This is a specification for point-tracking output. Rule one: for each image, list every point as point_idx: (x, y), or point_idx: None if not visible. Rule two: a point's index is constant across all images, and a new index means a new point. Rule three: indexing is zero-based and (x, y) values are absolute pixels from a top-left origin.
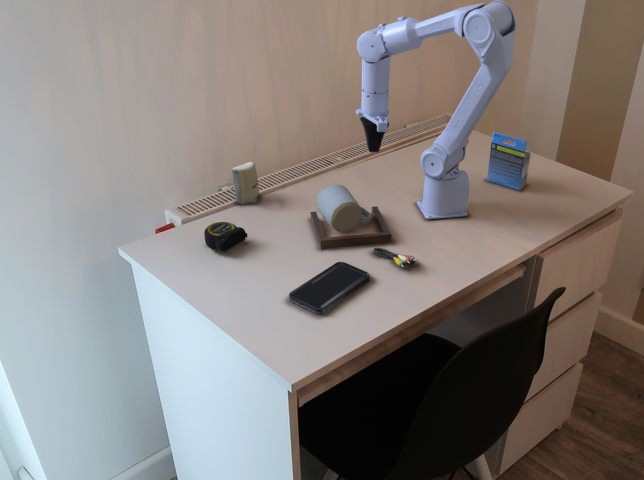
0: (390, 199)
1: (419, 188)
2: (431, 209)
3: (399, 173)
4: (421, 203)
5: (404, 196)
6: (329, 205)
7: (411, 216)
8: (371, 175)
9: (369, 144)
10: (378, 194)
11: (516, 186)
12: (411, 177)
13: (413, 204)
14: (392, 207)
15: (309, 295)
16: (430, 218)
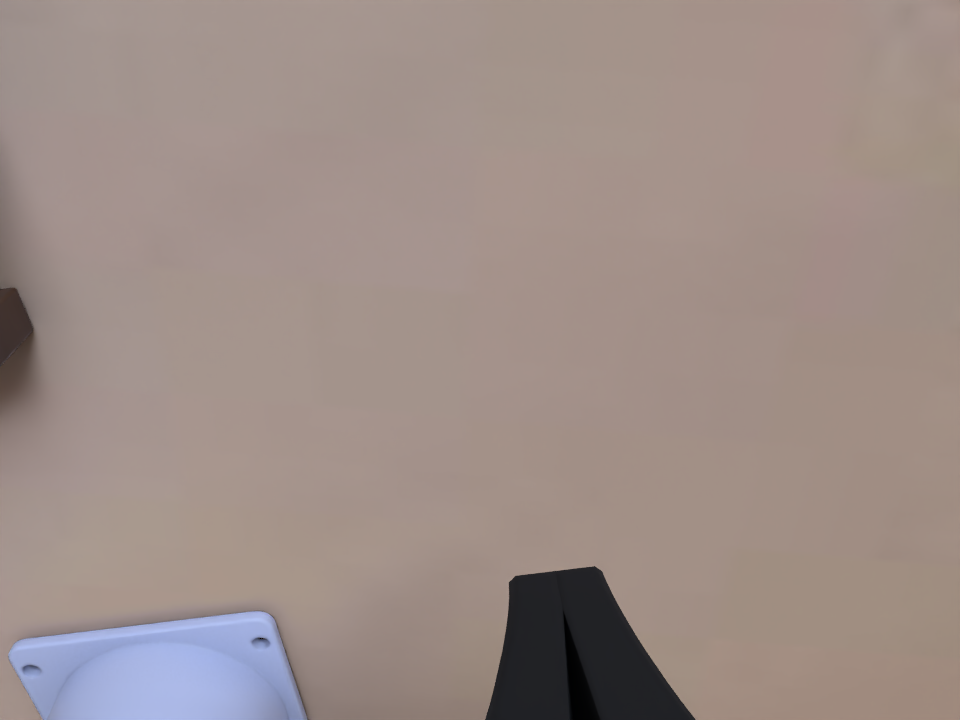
0: (330, 452)
1: None
2: (53, 710)
3: (782, 548)
4: (228, 643)
5: (384, 545)
6: None
7: (57, 558)
8: (799, 349)
9: (497, 677)
10: (422, 373)
11: None
12: (696, 612)
13: (254, 586)
14: (188, 453)
15: None
16: (17, 665)
